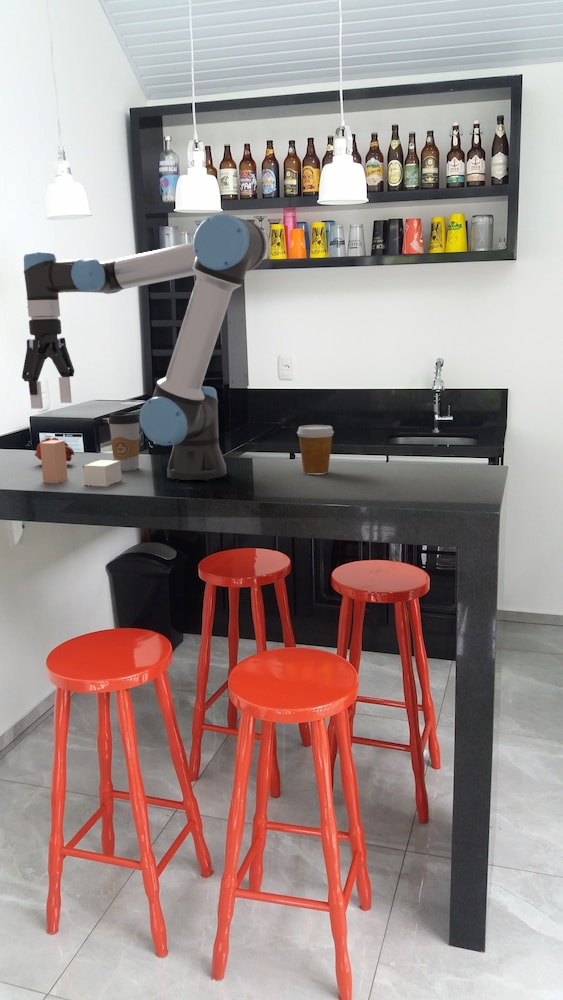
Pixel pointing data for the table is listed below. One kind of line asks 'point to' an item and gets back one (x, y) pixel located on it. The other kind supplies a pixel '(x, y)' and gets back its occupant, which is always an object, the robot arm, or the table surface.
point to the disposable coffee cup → (315, 447)
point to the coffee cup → (125, 439)
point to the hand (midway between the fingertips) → (52, 405)
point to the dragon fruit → (68, 449)
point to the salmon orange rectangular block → (53, 461)
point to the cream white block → (102, 472)
